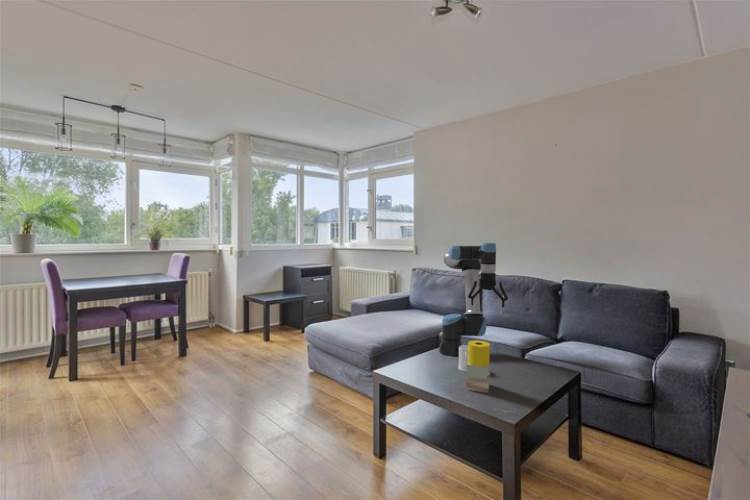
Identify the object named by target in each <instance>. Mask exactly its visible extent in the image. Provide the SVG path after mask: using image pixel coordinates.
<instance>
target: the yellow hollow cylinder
mask: <svg viewBox="0 0 750 500" xmlns="http://www.w3.org/2000/svg"><path fill="white" fill-rule="evenodd" d="M490 344H491V343H489V342H487V341H483V340H469V341H468V342H467V345H468V363H469V364H471V365H473V366H479V367H484V366H488V365H489V366H490V360H491V359H490V353H491V352H490V350H491V349H490V348H491V345H490Z"/></svg>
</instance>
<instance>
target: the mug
mask: <svg viewBox="0 0 750 500" xmlns="http://www.w3.org/2000/svg"><path fill="white" fill-rule="evenodd" d="M467 364H468V344H467V345H466V344H465V345H464V344H462V346H459V356H458V367H457V368H458V370H460V371H462V372H466V373H467Z"/></svg>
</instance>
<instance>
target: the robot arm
mask: <svg viewBox="0 0 750 500" xmlns="http://www.w3.org/2000/svg"><path fill="white" fill-rule="evenodd" d="M443 262H444V264H445V265H446V266H447V267H448V268H451V269H453V270H461V273H462V274H463V275H464V290H465V291H464V293H465V310H466V311H465V313H463V316H462V314H460V313H451V314H446V315H444V316H443V317H442V322H441V325H442V326H441V329H442V330H441V332H442V333H441V335H442V336H441V342H440V344H439V347H438V349H439V351H438V352H439V353H440V354H442V355H444V356H445V355H446V356H451V357H457V356H458V357H459V346H462V345H463V343H462V337H482V336H484V335H485V334H486V331H487V323H488V322H487V321H488V320H487V318H486V317H485V316H484V314H483V312H482V311H481V299H480V293H481V292H482V291H483V290H485V291H493V292H494V293H495V294H496V295H497V297H498V298H499V299H500V301H499V302H500V303H499V304H500V305H499V307H500V309H499V310H500V311H499V314H501V315H502V314H503V308H505V302H506V301H508V300H509V297H508V295H507V293H506V291H505V289H504V287H503V282H502V281H499V282H498V281H497V280H496V277H497V275H496V272H497V270H496V269H497V263H496V262H497V245H496V243H495V242H482V243H481V244H480V245H451V246H450V247H449V252H446V254H444V257H443ZM479 274H480V281H479ZM496 285H497V286H498V287H499V289H500V291H501V293H502V294H501V293H500V292H499V290H498V289H497V288H496Z"/></svg>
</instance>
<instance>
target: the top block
mask: <svg viewBox="0 0 750 500" xmlns="http://www.w3.org/2000/svg"><path fill="white" fill-rule="evenodd" d="M489 368H490V364H489V365H488V366H484V367H479V366H473V365H471V364H469V363H468V364H467V372H466V377H470V378H477V379H483V380H486V379H487V377H488V374H489V373H490V372H489V371H490V369H489Z"/></svg>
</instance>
